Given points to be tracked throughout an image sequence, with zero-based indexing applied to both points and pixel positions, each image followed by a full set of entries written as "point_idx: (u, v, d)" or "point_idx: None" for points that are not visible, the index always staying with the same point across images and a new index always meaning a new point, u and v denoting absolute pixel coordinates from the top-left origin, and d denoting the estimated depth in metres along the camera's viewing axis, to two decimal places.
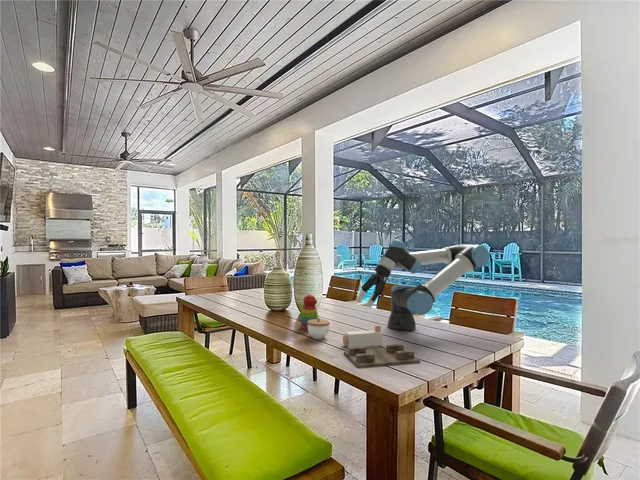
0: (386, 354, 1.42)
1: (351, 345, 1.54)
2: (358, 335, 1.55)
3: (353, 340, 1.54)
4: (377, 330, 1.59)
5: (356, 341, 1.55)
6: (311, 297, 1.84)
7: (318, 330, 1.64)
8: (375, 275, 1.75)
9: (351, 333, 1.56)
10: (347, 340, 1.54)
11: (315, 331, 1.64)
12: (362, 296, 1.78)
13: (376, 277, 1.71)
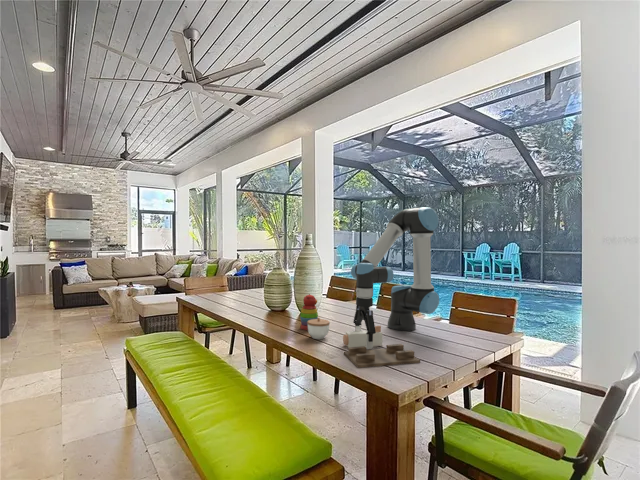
0: (386, 354, 1.42)
1: (351, 345, 1.54)
2: (358, 335, 1.55)
3: (353, 340, 1.54)
4: (377, 330, 1.59)
5: (356, 341, 1.55)
6: (311, 297, 1.84)
7: (318, 330, 1.64)
8: (359, 308, 1.60)
9: (351, 333, 1.56)
10: (347, 340, 1.54)
11: (315, 331, 1.64)
12: None
13: (361, 313, 1.56)
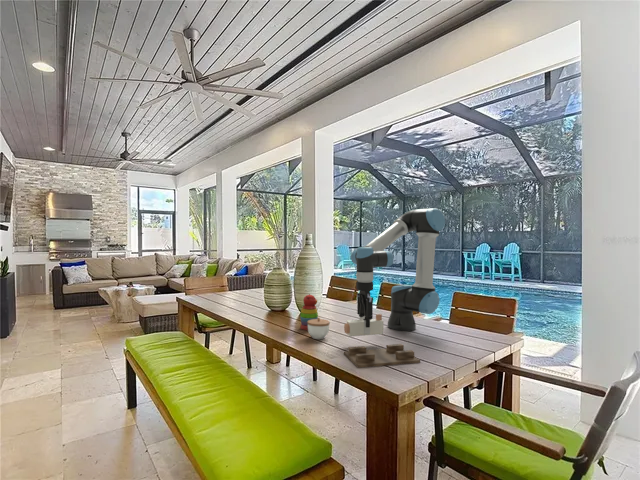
0: (386, 354, 1.42)
1: (352, 333, 1.54)
2: (359, 323, 1.55)
3: (354, 329, 1.55)
4: (378, 318, 1.59)
5: (357, 330, 1.55)
6: (311, 297, 1.84)
7: (318, 330, 1.64)
8: (360, 292, 1.60)
9: (352, 321, 1.56)
10: (348, 328, 1.54)
11: (315, 331, 1.64)
12: None
13: (362, 297, 1.56)
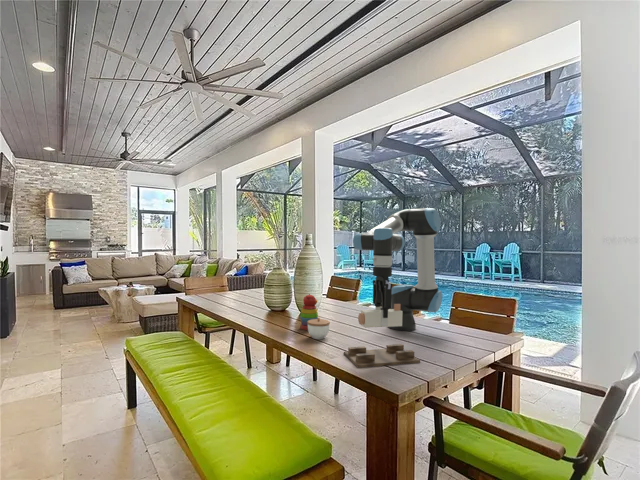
0: (386, 354, 1.42)
1: (368, 324, 1.37)
2: (376, 313, 1.38)
3: (370, 319, 1.37)
4: (396, 308, 1.42)
5: (373, 320, 1.37)
6: (311, 297, 1.84)
7: (318, 330, 1.64)
8: (376, 278, 1.43)
9: (368, 311, 1.38)
10: (363, 319, 1.36)
11: (315, 331, 1.64)
12: None
13: (379, 284, 1.39)
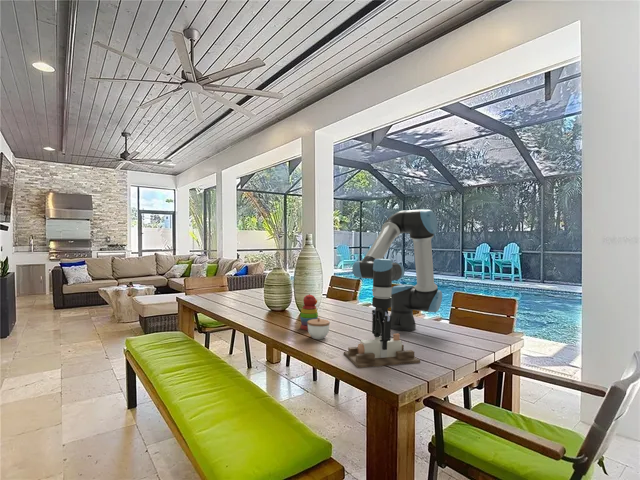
0: None
1: None
2: (375, 344, 1.38)
3: (370, 350, 1.37)
4: (396, 338, 1.42)
5: (373, 351, 1.37)
6: (311, 297, 1.84)
7: (318, 330, 1.64)
8: (376, 309, 1.43)
9: (367, 342, 1.38)
10: (363, 350, 1.36)
11: (315, 331, 1.64)
12: None
13: (378, 315, 1.39)
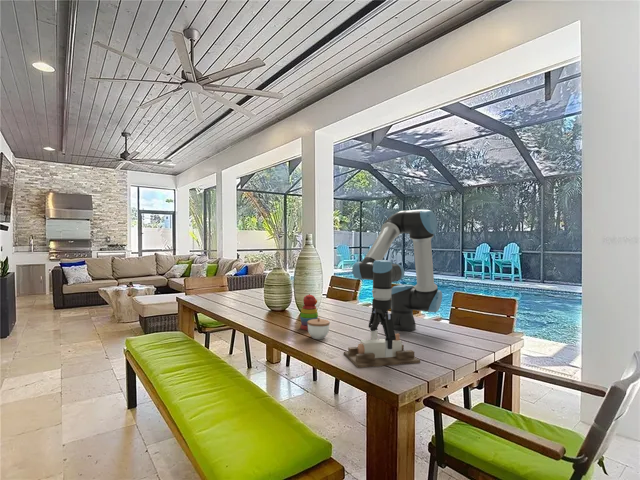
0: None
1: None
2: (375, 344, 1.38)
3: (370, 350, 1.37)
4: (396, 338, 1.42)
5: (373, 351, 1.37)
6: (311, 297, 1.84)
7: (318, 330, 1.64)
8: (376, 311, 1.43)
9: (367, 342, 1.38)
10: (363, 350, 1.36)
11: (315, 331, 1.64)
12: (375, 337, 1.47)
13: (379, 316, 1.38)
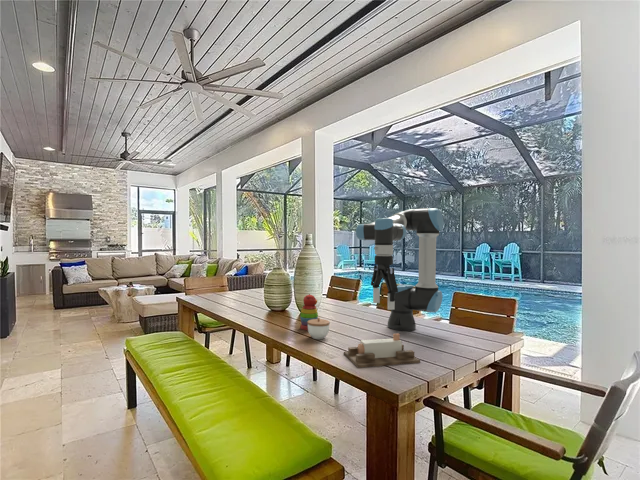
0: None
1: None
2: (375, 344, 1.38)
3: (370, 350, 1.37)
4: (396, 338, 1.42)
5: (373, 351, 1.37)
6: (311, 297, 1.84)
7: (318, 330, 1.64)
8: (378, 267, 1.48)
9: (367, 342, 1.38)
10: (363, 350, 1.36)
11: (315, 331, 1.64)
12: (377, 294, 1.52)
13: (381, 272, 1.43)
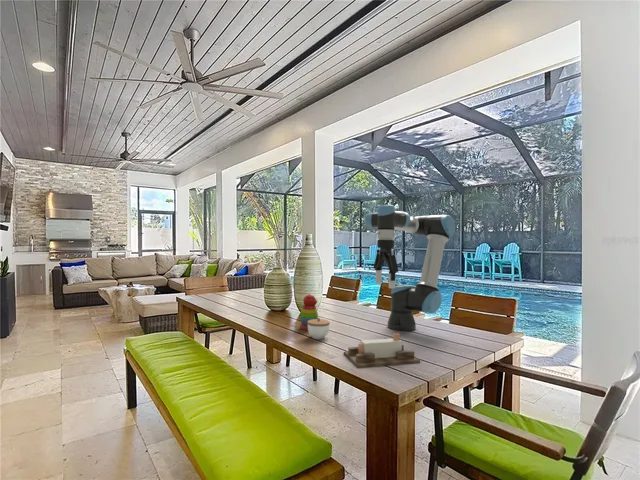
0: None
1: None
2: (375, 344, 1.38)
3: (370, 350, 1.37)
4: (396, 338, 1.42)
5: (373, 351, 1.37)
6: (311, 297, 1.84)
7: (318, 330, 1.64)
8: (380, 251, 1.61)
9: (367, 342, 1.38)
10: (363, 350, 1.36)
11: (315, 331, 1.64)
12: (379, 276, 1.65)
13: (383, 254, 1.56)
